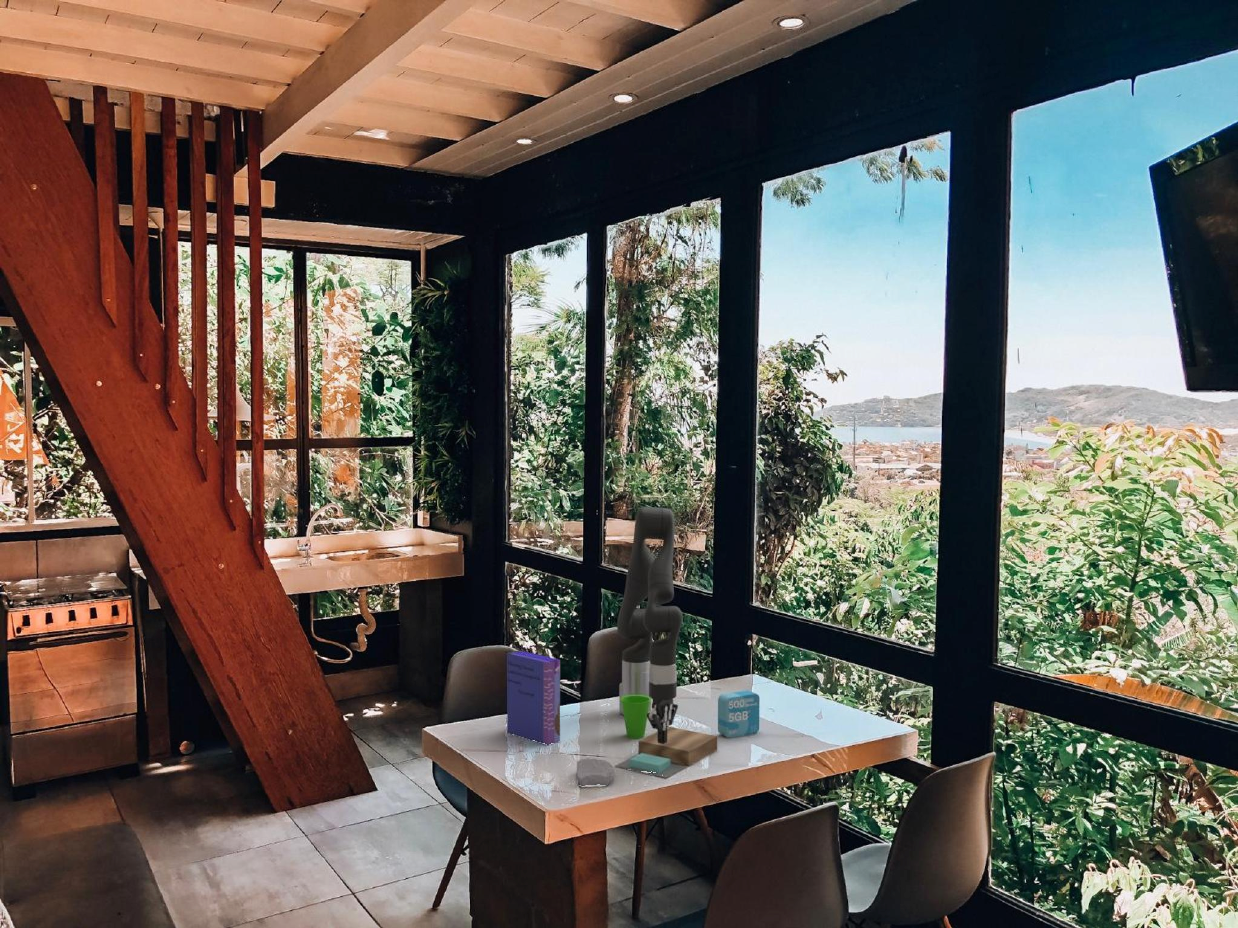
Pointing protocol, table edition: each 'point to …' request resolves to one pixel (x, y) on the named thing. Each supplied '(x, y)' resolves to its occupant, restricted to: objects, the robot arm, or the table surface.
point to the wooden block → (679, 746)
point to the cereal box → (533, 696)
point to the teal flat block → (650, 763)
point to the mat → (665, 773)
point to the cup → (635, 714)
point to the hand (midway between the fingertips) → (662, 742)
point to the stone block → (594, 772)
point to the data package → (738, 713)
